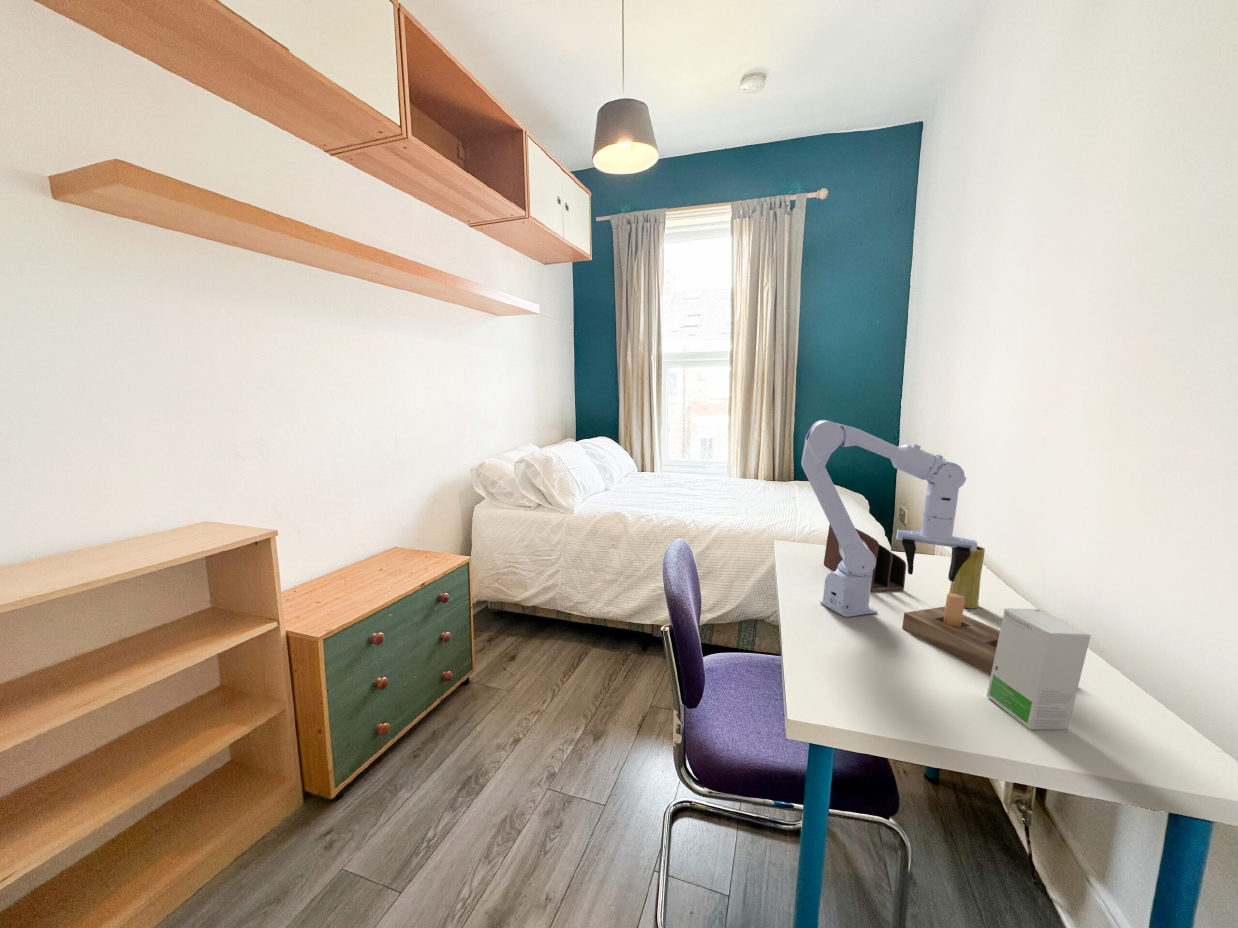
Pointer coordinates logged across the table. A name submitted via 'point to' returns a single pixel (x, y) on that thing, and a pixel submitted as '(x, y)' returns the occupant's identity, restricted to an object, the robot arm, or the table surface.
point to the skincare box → (1037, 668)
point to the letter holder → (887, 566)
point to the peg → (954, 610)
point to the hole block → (955, 636)
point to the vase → (969, 578)
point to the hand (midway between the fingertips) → (930, 576)
